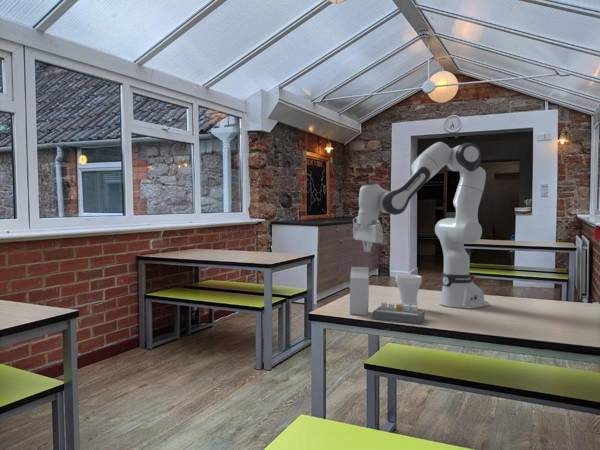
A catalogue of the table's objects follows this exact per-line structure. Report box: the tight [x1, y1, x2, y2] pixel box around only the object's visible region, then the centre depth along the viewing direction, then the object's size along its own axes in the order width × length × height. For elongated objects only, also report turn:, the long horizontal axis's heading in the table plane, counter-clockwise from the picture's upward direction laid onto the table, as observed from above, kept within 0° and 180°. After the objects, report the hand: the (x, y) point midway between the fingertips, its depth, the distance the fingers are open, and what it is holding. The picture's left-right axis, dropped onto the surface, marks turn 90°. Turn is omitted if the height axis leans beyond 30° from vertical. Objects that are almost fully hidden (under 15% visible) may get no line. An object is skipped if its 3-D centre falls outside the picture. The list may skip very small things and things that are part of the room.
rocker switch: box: [395, 303, 402, 311], centre depth 192 cm, size 2×1×2 cm, turn 65°
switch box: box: [372, 301, 426, 325], centre depth 192 cm, size 18×10×6 cm, turn 64°
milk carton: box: [349, 266, 370, 316], centre depth 201 cm, size 7×7×19 cm
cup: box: [395, 273, 423, 310], centre depth 210 cm, size 11×11×14 cm
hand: (367, 251), depth 215 cm, fingers closed
